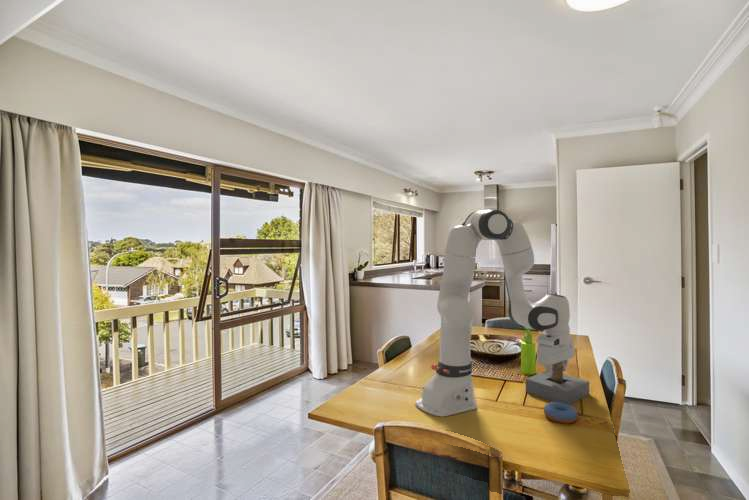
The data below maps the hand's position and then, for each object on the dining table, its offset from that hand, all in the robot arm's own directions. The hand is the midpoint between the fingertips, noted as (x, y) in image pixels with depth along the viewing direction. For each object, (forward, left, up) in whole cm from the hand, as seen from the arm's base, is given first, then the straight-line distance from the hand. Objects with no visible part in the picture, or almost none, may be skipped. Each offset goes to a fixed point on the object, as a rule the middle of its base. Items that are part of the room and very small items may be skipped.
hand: (556, 373), depth 145 cm
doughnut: (-18, -11, -8) cm, 23 cm away
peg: (0, 0, -8) cm, 8 cm away
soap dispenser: (+12, +19, -8) cm, 24 cm away
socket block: (0, 0, -8) cm, 8 cm away
